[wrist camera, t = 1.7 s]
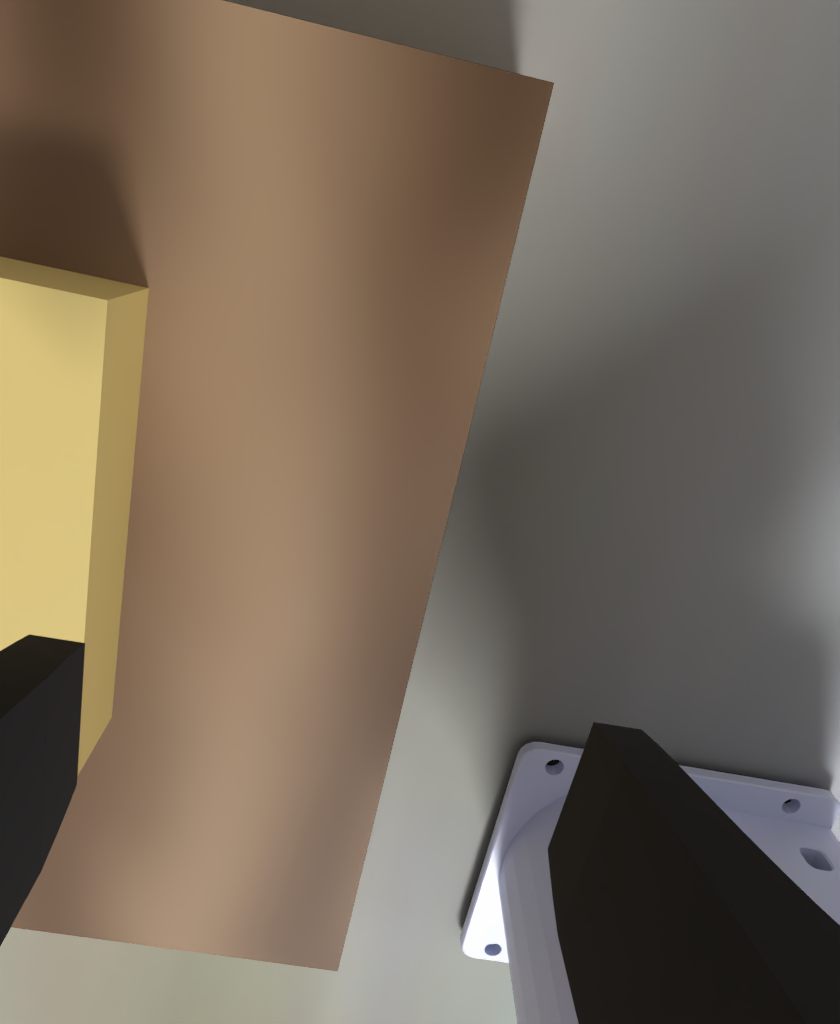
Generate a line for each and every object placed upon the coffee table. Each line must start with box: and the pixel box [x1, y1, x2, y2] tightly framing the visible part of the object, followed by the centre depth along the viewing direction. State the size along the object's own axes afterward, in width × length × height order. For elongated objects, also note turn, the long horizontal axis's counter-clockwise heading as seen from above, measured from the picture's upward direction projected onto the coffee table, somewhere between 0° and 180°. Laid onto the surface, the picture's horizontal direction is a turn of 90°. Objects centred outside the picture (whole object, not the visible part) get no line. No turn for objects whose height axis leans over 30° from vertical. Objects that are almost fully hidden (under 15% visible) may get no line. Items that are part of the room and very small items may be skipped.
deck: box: [0, 0, 554, 971], centre depth 17 cm, size 14×20×4 cm
